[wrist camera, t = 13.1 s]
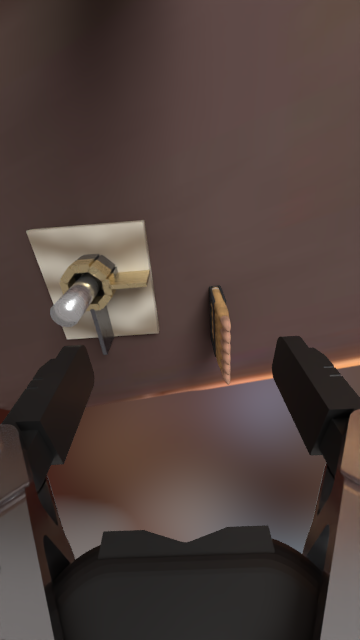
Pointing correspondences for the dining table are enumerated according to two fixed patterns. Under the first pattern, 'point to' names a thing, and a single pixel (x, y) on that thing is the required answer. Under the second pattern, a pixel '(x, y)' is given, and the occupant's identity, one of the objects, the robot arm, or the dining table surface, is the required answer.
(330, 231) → the dining table surface
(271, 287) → the dining table surface
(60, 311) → the hinge pin
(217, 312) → the ammunition clip
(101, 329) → the base plate with nut
